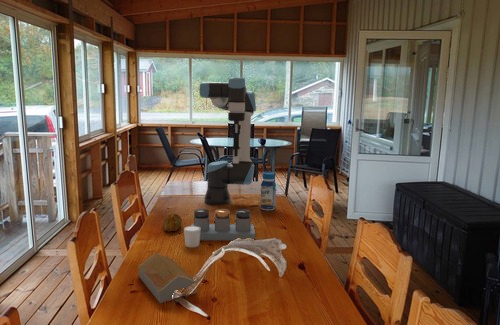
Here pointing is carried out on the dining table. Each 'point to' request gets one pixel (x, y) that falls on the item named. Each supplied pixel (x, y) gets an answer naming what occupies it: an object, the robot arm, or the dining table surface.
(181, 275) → the house model
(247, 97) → the robot arm
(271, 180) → the beverage bottle
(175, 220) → the rock
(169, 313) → the dining table surface
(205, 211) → the knob
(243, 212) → the knob
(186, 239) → the white candle
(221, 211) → the knob mid
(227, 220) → the mount
